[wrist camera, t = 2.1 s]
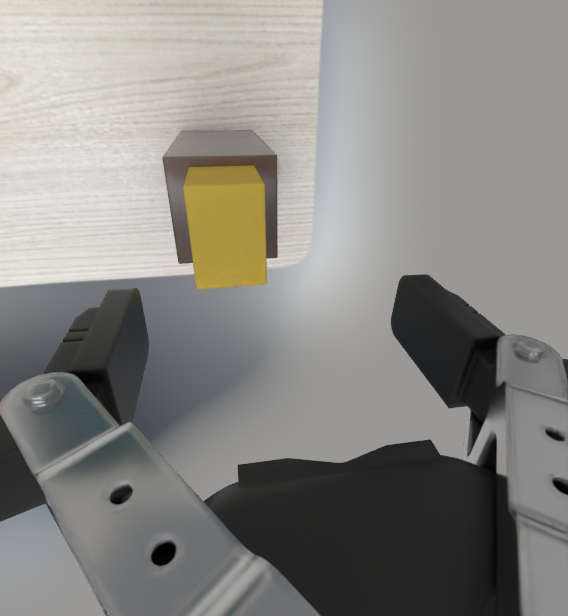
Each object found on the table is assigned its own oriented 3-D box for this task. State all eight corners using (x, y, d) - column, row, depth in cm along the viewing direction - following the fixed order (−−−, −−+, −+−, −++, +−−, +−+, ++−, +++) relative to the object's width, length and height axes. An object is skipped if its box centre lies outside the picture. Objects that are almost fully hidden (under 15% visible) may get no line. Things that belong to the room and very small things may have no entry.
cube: (188, 166, 19) (182, 185, 15) (254, 165, 20) (265, 183, 16) (198, 255, 22) (196, 290, 18) (257, 251, 22) (266, 284, 19)
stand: (180, 130, 31) (162, 157, 19) (252, 130, 32) (277, 154, 20) (189, 202, 34) (178, 264, 22) (254, 200, 35) (277, 258, 23)
